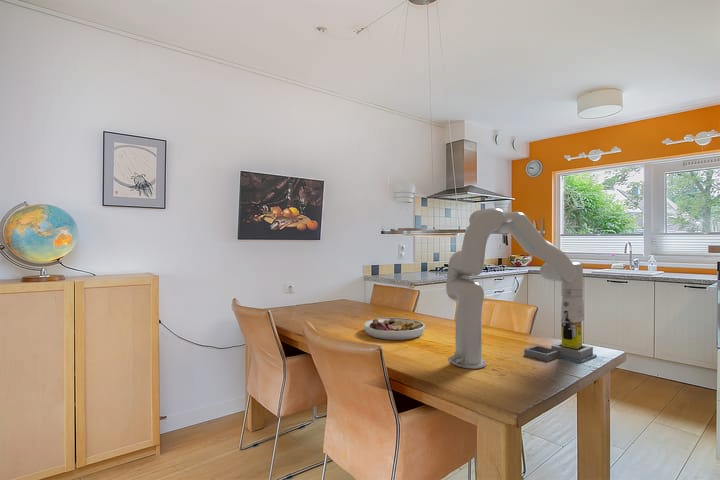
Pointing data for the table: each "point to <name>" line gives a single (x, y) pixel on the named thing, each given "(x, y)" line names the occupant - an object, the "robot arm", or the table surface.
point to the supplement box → (573, 337)
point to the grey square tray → (542, 353)
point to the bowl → (394, 328)
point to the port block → (575, 353)
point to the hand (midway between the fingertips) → (571, 337)
